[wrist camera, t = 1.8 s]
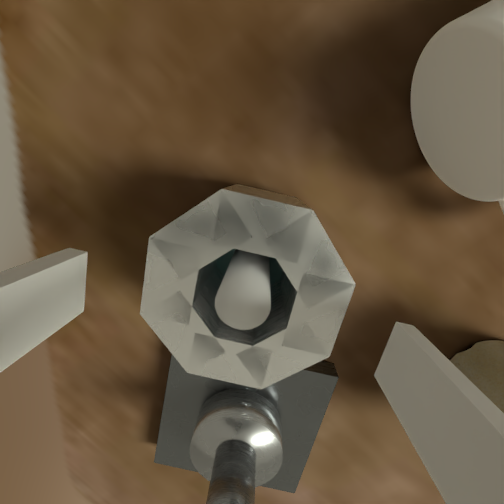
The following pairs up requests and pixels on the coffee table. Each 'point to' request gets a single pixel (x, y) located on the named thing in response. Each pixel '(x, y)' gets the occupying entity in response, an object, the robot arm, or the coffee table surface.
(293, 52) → the coffee table surface
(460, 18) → the mug
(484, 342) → the flower pot
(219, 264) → the stand
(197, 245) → the collar
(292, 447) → the hub
